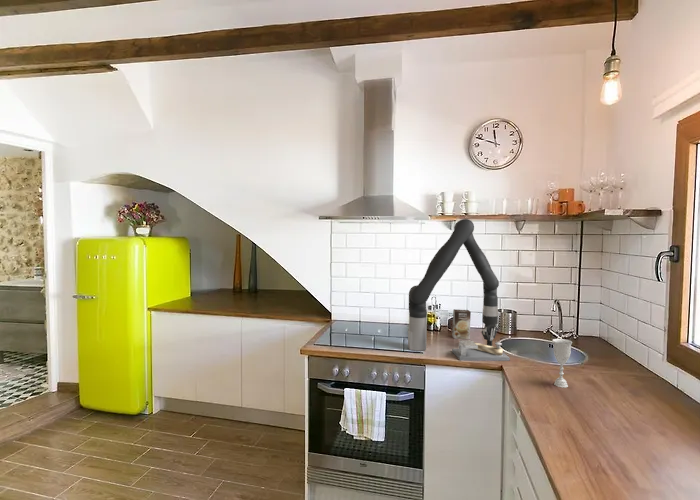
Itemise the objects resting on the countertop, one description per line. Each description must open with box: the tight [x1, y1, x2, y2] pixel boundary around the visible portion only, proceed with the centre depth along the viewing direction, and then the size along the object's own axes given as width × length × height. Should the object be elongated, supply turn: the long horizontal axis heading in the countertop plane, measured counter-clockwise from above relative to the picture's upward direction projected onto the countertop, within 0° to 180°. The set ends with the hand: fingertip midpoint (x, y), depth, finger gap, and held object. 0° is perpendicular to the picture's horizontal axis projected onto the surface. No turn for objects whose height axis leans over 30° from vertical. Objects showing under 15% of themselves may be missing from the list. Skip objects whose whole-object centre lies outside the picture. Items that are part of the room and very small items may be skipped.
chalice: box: [552, 338, 573, 388], centre depth 157 cm, size 7×7×18 cm
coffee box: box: [451, 309, 471, 340], centre depth 227 cm, size 9×6×16 cm
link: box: [473, 341, 504, 355], centre depth 196 cm, size 18×4×2 cm, turn 41°
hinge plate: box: [451, 341, 511, 362], centre depth 194 cm, size 24×14×7 cm, turn 91°
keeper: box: [458, 339, 478, 356], centre depth 191 cm, size 7×9×7 cm
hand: (489, 347), depth 202 cm, fingers closed
